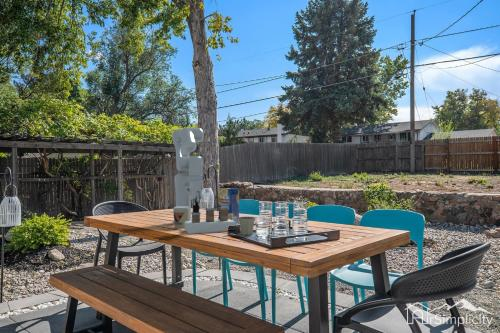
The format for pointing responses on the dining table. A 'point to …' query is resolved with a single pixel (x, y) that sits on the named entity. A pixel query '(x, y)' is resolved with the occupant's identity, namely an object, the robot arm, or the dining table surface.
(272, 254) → the dining table surface
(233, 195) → the beverage box
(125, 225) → the dining table surface
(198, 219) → the plug left
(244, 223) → the flower pot
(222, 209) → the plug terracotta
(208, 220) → the plug middle
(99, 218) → the dining table surface
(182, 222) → the coffee cup
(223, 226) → the socket board
